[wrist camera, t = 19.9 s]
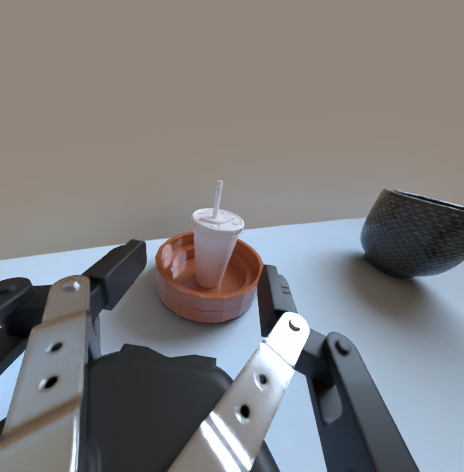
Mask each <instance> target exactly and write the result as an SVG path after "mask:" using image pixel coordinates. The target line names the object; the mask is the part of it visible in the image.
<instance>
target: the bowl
mask: <svg viewBox="0 0 464 472" xmlns="http://www.w3.org/2000/svg"><path fill="white" fill-rule="evenodd" d="M263 266H264V265H263V262H262V260H261V258H260V256H259V255H258V253H257V252H256V251H255V250H254V249H253V248H252V247H251V246H249V245H248V244H246V243H245V242H243V241H241V240H239V239H237V242H236V244H235V247H234V249H233V252H232V254H231V257H230V259H229V262H228V265H227V267H226V270H225V272H224V275H223V277H222V280H221V283H220V284H219V285H218V286H216V287H214V288H205V287H202V286H200V285H199V284H198V283H197V281H196V272H195V250H194V232H188V233H184V234H180V235H177V236H175V237H173V238H171V239H169V240H167V241H166V242H165V243H164V244H163V245H162V246H160V248H159V250H158V252H157V254H156V257H155V270H156V287H157V294H158V295H159V297H160V298H161V300H162V301H163V303H164V305H165V306H166V307H167V308H169V309H170V310H172V311H173V312H174V313H176V314H177V315H179V316H181V317H183V318H186V319H190V320H193V321H196V322H200V323H219V322H224V321H227V320H230V319H233V318H237V317H238V316H240V315H241V314H242V313H244V312H245V311H246V310H248V309H249V308H250V306H251V305H252V303H253V301H254V299H255V298H256V295H257V283H258V280H259V277H260V274H261V271H262V268H263Z"/></svg>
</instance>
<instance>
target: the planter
mask: <svg viewBox="0 0 464 472" xmlns="http://www.w3.org/2000/svg"><path fill="white" fill-rule="evenodd" d="M360 240H361V244H362V247H363V249H364V251H365V258H366V260H367V261H368V262H369V263H370V264H372V265H373V266H374V267H376V268H377V269H379V270H381V271H383V272H385V273H387V274H389V275H392V276H395V277H398V278H403V279H409V278H412V277H415V276H418V277H423V276H433V275H437V274H440V273H443V272H445V271H448V270H450V269H452V268H454V267H455V266H457V265H458V264H460V263H461V262H463V261H464V207H463V206H459V205H455V204H451V203H448V202H444V201H440V200H436V199H432V198H428V197H424V196H420V195H416V194H411V193H407V192H402V191H397V190H392V189H384V190H382V192H381V193H380V195H379V197H378V198H377V200H376V202H375V203H374V205H373V207H372V209H371V211H370V213H369V215H368V217H367V219H366V221H365V223H364V226H363V228H362V232H361V239H360Z"/></svg>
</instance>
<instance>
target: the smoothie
mask: <svg viewBox="0 0 464 472" xmlns="http://www.w3.org/2000/svg"><path fill="white" fill-rule="evenodd" d="M222 183H223V181H221V180H218V182H217V188H216V195H215V202H214V208H212V209H211V208H207V209H200V210H197V211H195V212H194V213H193V214H192V220H191V225H192V227H193V228H194V250H195V272H196V281H197V283H198V284H199V285H200V286H202V287H205V288H214V287H216V286H218V285H219V284H220V283H221V280H222V277H223V275H224V272H225V270H226V267H227V265H228V262H229V259H230V257H231V254H232V252H233V249H234V247H235V244H236V242H237V239H238V236H239V235H241V234H242V233H243V226H244V222H243V220H242V219H241V218H240V217H239V216H238V215H236V214H234V213H231V212H229V211H225V210H221V209H218V208H219V202H220V196H221V189H222Z"/></svg>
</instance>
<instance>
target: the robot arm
mask: <svg viewBox="0 0 464 472" xmlns="http://www.w3.org/2000/svg"><path fill="white" fill-rule="evenodd" d="M146 263H147V255H146V243H145V242H144V241H139V240H134V239H132V240H130V241H129V242H128V243H127V244H125V245H121V246H119V247H116V248H114V249H112V250H111V251H110V252H109V253H107V255H105V256H104V257H103V258H102V259H100V260H99V261H98V262H96V263H95V264H94V265H93V266H91V267H90V268H89V269H88V270H86V271H85V272H84V273H83V274H81V275H73V276H69V277H65V278H63V279H61V280H59V281H57V282H56V283H54V284H53V285H43V286H32V284H31V282H30V280H29V279H27V278H22V277H17V278H10V279H6V280H2V281H0V326H1V328H0V375H1V374H2V373H3V372H4V371H5V370H6V369H7V368H8V367H9V366H10V365H11V364H12V363H13V362H14V361H15V360H16V359H17V358H18V357H19V356H20V355H21V354H22V353H23V352H24V351H25V350H26V351H25V354H24V358H23V361H22V365H21V368H20V372H19V375H18V379H17V382H16V386H15V389H14V393H13V397H12V400H11V404H10V407H9V411H8V414H7V417H6V418H4V419H3V420H1V421H0V472H280V470H279V468H278V466H277V464H276V462H275V460H274V458H273V456H272V454H271V452H270V450H269V448H268V446H267V444H266V442H265V441H264V438H265V435H266V433H267V431H268V429H269V426H270V424H271V422H272V420H273V418H274V415H275V413H276V411H277V409H278V406H279V404H280V402H281V400H282V397H283V395H284V393H285V391H286V388H287V386H288V384H289V382H290V379H291V377H292V375H293V373H294V370H296V371H298V372H300V373H302V374H304V375H306V380H307V384H308V388H309V393H310V397H311V402H312V406H313V410H314V415H315V419H316V424H317V428H318V433H319V437H320V441H321V446H322V450H323V455H324V459H325V463H326V468H327V472H420V471H419V469H418V467H417V465H416V463H415V461H414V460H413V458H412V456H411V454H410V452H409V450H408V448H407V446H406V444H405V442H404V440H403V438H402V436H401V434H400V432H399V430H398V428H397V426H396V424H395V422H394V420H393V418H392V417H391V415H390V413H389V411H388V409H387V407H386V405H385V403H384V401H383V399H382V397H381V395H380V393H379V391H378V389H377V387H376V385H375V383H374V381H373V379H372V377H371V375H370V374H369V372H368V370H367V368H366V366H365V364H364V362H363V360H362V358H361V356H360V354H359V352H358V350H357V348H356V347H355V345H354V344H353V343H352V342H351V341H350V340H349V339H348V338H346V337H345V336H343V335H342V334H339V333H336V332H331V333H329V334H328V335H327V337H326V336H324V335H322V334H320V333H318V332H316V331H314V330H312V329H310V328H309V326H308V324H307V323H306V321H305V320H304V319H303V318H302V317H301V316H299V315H298V313H297V310H296V307H295V304H294V301H293V298H292V295H291V292H290V289H289V286H288V283H287V281H286V279H285V278H284V277H283V276H282V275H278V272H277V269H276V267H275V266H271V265H264V266H263V268H262V271H261V274H260V277H259V280H258V283H257V296H258V306H259V316H260V326H261V336H262V337H267V338H266V339H265V340H263V341H262V342H261V344H260V345H259V347H258V348H257V349H256V351H255V352H254V354H253V355H252V356H251V358H250V359H249V360H248V362H247V363H246V365H245V366H244V367H243V369H242V370H241V372H240V373H239V374H238V376H237V377H236V379H235V380H234V381H233V380H232V378H231V377H230V376H229V375H228V374H227V373H226V372H225V371H223V370H222V369H221V368H219V367H217V366H216V358H211V357H205V356H199V355H188V356H180V357H172V358H169V357H166V356H164V355H162V354H160V353H158V352H156V351H154V350H152V349H150V348H148V347H143V346H137V345H131V344H124V345H123V347H122V349H121V350H120V351H118V352H114V353H110V354H107V355H104V356H102V354H101V346H100V317H99V313H100V312H101V311H102V310H103V309H106V310H111V311H112V309H113V308H114V307H115V305H116V304H117V303H118V302H119V300H120V299H121V298H122V297H123V295H124V294H125V293H126V292H127V290H128V289H129V288H130V286H131V285H132V284H133V283H134V281H135V280H136V279H137V278H138V276H139V275H140V274H141V273H142V271H143V270H144V268H145V266H146Z"/></svg>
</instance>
